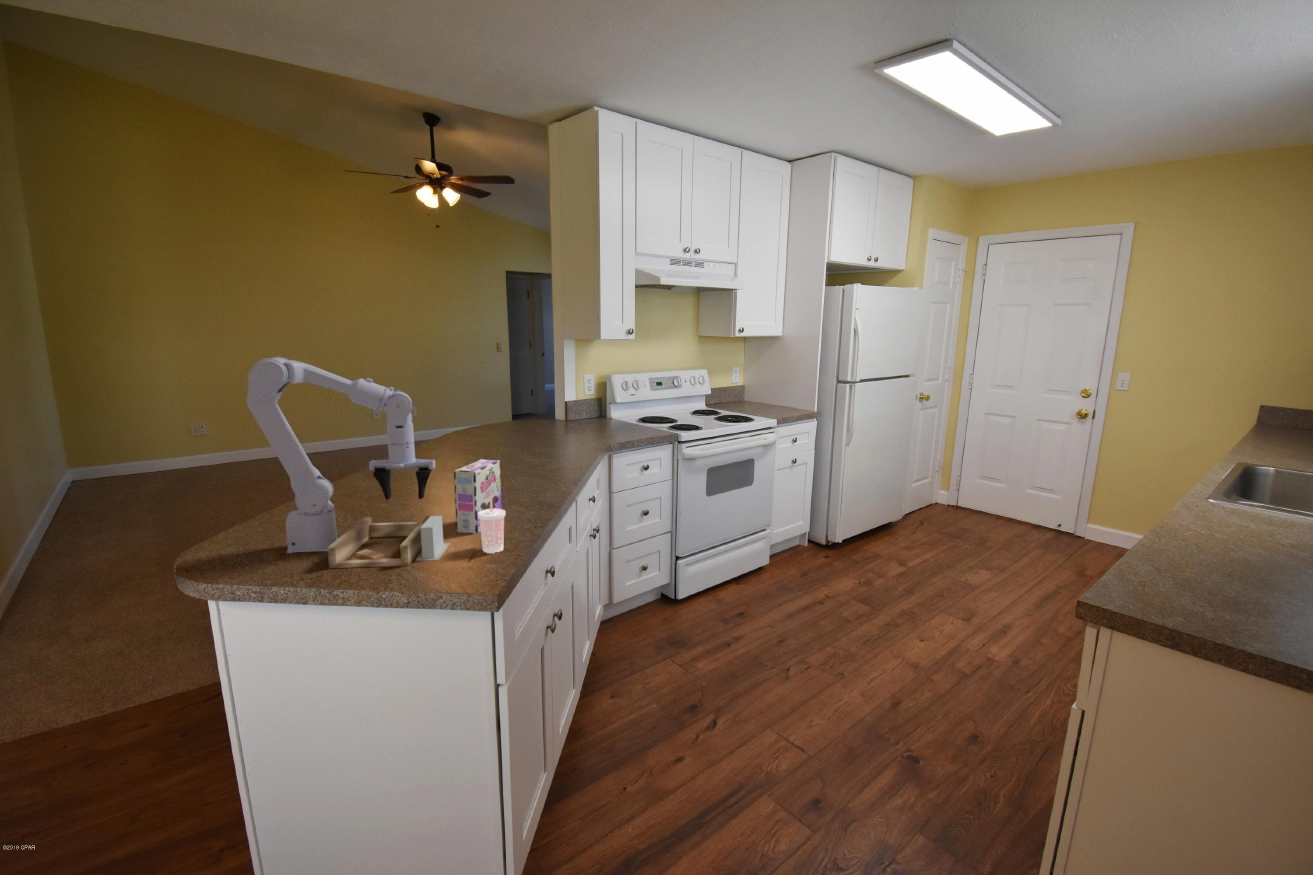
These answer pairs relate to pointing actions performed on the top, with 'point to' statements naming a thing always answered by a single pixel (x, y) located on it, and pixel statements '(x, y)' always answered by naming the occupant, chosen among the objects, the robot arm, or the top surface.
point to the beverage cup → (492, 528)
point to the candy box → (476, 493)
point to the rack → (368, 529)
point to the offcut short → (369, 555)
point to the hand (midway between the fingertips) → (405, 498)
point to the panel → (432, 536)
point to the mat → (436, 555)
